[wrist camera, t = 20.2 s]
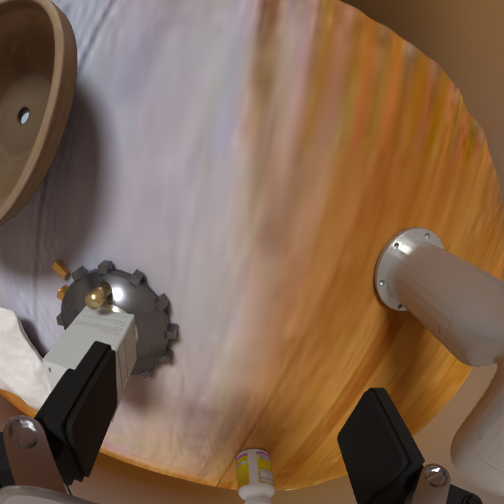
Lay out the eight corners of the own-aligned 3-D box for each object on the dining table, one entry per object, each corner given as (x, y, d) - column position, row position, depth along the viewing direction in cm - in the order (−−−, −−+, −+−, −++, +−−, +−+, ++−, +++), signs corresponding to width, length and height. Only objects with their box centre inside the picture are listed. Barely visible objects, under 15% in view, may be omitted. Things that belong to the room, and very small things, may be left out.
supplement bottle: (237, 464, 50) (239, 514, 38) (235, 448, 48) (237, 502, 36) (269, 462, 51) (276, 511, 38) (269, 445, 49) (277, 499, 36)
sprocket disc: (174, 264, 36) (164, 283, 30) (180, 377, 41) (175, 405, 35) (53, 257, 34) (30, 272, 29) (75, 362, 40) (61, 385, 34)
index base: (139, 320, 39) (138, 323, 38) (121, 339, 40) (119, 343, 39) (64, 250, 35) (61, 252, 34) (50, 273, 36) (46, 276, 35)
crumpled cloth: (-35, 246, 32) (-69, 269, 24) (118, 372, 39) (97, 416, 31) (-32, 325, 40) (-54, 348, 32) (88, 421, 48) (74, 454, 39)
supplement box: (90, 348, 36) (54, 407, 24) (86, 303, 34) (39, 358, 22) (138, 359, 37) (112, 425, 25) (137, 314, 35) (103, 377, 23)
